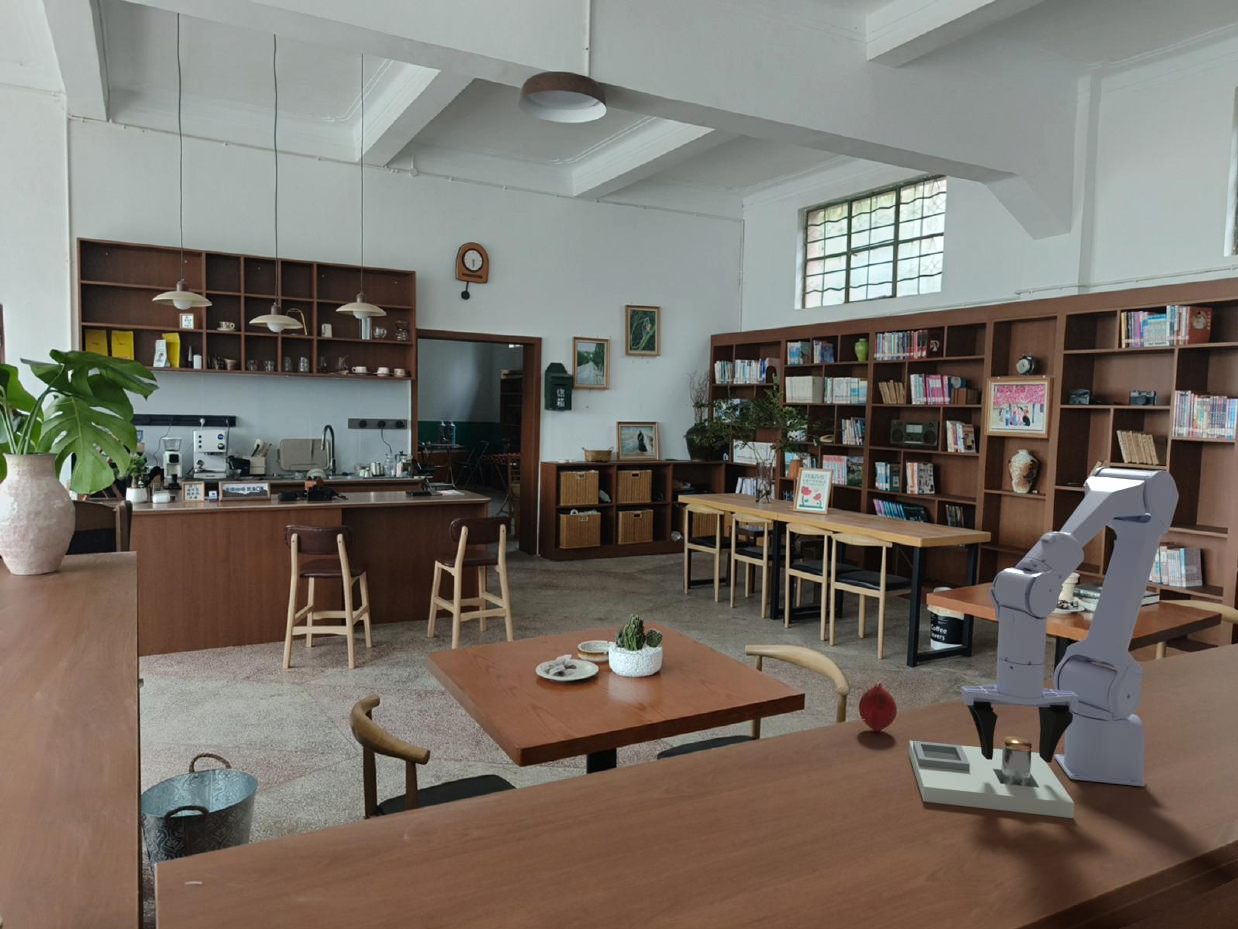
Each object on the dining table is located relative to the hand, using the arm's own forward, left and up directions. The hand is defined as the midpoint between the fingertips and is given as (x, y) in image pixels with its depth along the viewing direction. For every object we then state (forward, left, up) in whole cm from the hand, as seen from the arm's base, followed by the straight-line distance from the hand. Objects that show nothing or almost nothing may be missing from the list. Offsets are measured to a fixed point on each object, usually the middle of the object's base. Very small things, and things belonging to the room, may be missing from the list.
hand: (1016, 758), depth 111 cm
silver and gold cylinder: (0, 0, -5) cm, 5 cm away
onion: (+16, -18, -5) cm, 25 cm away
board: (+3, -2, -5) cm, 6 cm away
